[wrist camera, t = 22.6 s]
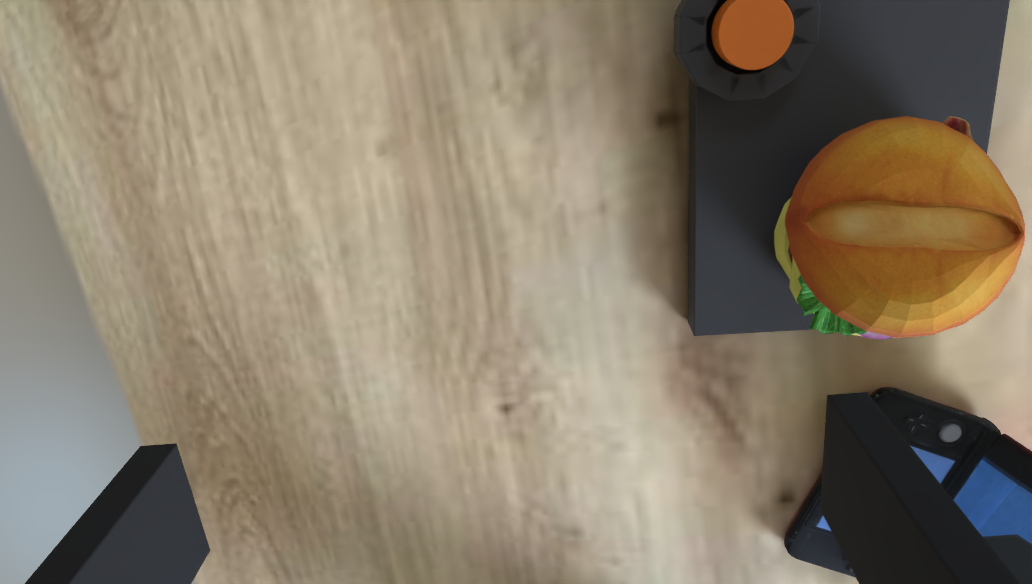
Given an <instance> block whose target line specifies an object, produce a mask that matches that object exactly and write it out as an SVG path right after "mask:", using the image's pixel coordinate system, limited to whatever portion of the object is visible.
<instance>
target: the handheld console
mask: <svg viewBox="0 0 1032 584" xmlns="http://www.w3.org/2000/svg"><path fill="white" fill-rule="evenodd" d="M870 396H871V398H872V399H873V400H874V401H875V403H876V404H877V405H878V406H879V408H880V409H881V410H882V411H883V413H884V414H885V415H886V416H887V418H888V419H889V420H890V421H891V423H892V424H893V425H894V426H895V428H896V429H897V430H898V431H899V433H900V434H901V435H902V436H903V438H904V439H905V440H906V441H907V443H908V444H909V445H910V446H911V448H912V449H913V450H914V451H915V453H916V454H917V455H918V456H919V458H920V459H921V460H922V461H923V463H924V464H925V465H926V466H927V468H928V469H929V470H930V471H931V473H932V474H933V475H934V476H935V478H936V479H937V480H938V481H939V483H940V484H941V485H942V486H943V488H944V489H945V490H946V491H947V493H948V494H949V495H950V496H951V498H952V499H953V500H954V501H955V503H956V504H957V505H958V506H959V508H960V509H961V510H962V511H963V513H964V514H965V515H966V516H967V518H968V519H969V520H970V522H971V523H972V524H973V525H974V527H975V528H976V529H977V530H978V532H979V533H980V534H981V535H982V537H983V536H999V535H1015V534H1017V535H1019V536H1020V537H1022V538H1023V539H1025V540H1026V541H1028V542H1030V543H1031V544H1032V451H1030V450H1029V449H1027V448H1026V447H1024V446H1023V445H1021V444H1020V443H1018V442H1017V441H1015V440H1014V439H1012V438H1011V437H1009V436H1008V435H1006V434H1002V435H1001V433H1000V430H999V429H998V428H997V427H996V426H995V425H994V424H993V423H992V422H991V421H989V420H987V419H986V418H980V417H978V416H975V415H973V414H970V413H967V412H964V411H961V410H958V409H955V408H952V407H949V406H946V405H943V404H940V403H937V402H934V401H931V400H928V399H926V398H923V397H920V396H917V395H914V394H911V393H908V392H905V391H902V390H899V389H896V388H891V387H884V388H879V389H877V390H876V391H874V392H873V393H872V394H871V395H870ZM821 489H822V474H821V476H820V478H819V479H818V481H817V483H816V484H815V486H814V488H813V489H812V491H811V493H810V494H809V496H808V498H807V499H806V501H805V503H804V505H803V506H802V508H801V510H800V511H799V513H798V515H797V516H796V518H795V520H794V521H793V523H792V525H791V527H790V528H789V530H788V531H787V533H786V536H785V539H784V544H785V547H786V549H787V551H788V553H789V554H790V555H791V556H792V557H794V558H796V559H799V560H802V561H805V562H808V563H812V564H815V565H818V566H821V567H824V568H828V569H831V570H834V571H837V572H840V573H843V574H847V575H850V576H853V577H856V576H855V574H854V572H853V571H852V569H851V567H850V565H849V563H848V561H847V559H846V557H845V556H844V554H843V552H842V550H841V548H840V546H839V544H838V542H837V541H836V539H835V537H834V535H833V533H832V531H831V529H830V527H829V526H828V524H827V522H826V520H825V518H824V516H823V514H822V512H821V511H820V506H821Z"/></svg>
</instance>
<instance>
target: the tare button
mask: <svg viewBox="0 0 1032 584" xmlns="http://www.w3.org/2000/svg"><path fill="white" fill-rule="evenodd" d="M793 33H794V20H793V16H792V13H791V10H790V8H789V7H788V5H787V4H786V3H785V2H784V1H783V0H727V1H726V2H725V3H724V4H723V5H722V6H721V7H720V9H719V10H718V12H717V13H716V15H715V17H714V20H713V23H712V29H711V38H712V43H713V46H714V48H715V51H716V52H717V54H718V55H719V56H720V57H721V58H722V59H723V60H724V61H725V62H727V63H728V64H731V65H733V66H736V67H738V68H741V69H745V70H759V69H763V68H766V67H768V66H770V65H772V64H774V63H775V62H776V61H778V60H779V59H780V58H781V57H782V56H783V55H784V53H785V52H786V51H787V49H788V47H789V45H790V43H791V41H792V37H793Z"/></svg>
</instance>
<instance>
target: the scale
mask: <svg viewBox="0 0 1032 584" xmlns="http://www.w3.org/2000/svg"><path fill="white" fill-rule="evenodd" d="M726 1H727V0H682V1H681V3H680V5H679V7H678V9H677V11H676V12H675V16H674V51H675V55H676V56H677V58H678V60H679V61H680V63H681V65H682V67H683V68H684V70H685V72H686V73H687V75H688V77H689V197H688V323H689V325H690V328H691V330H692V332H693V334H694V336H700V335H718V334H736V333H754V332H772V331H790V330H808V329H811V328H809V327H810V324H811V321H812V319H813V316H814V313H811V314H808V315H804V316H803V315H802V314H803V313H804V311H803V309H802V308H801V306H800V305H799V304H798V303H797V302H796V300H795V298H794V296H793V294H792V292H791V290H790V288H789V285H790V279H789V278H788V276H787V274H786V273H785V271H784V269H783V268H782V266H781V265H780V263H779V261H778V260H777V258H776V252H775V245H774V230H775V227H776V225H777V222H778V219H779V216H780V214H781V212H782V209H783V207H784V204H785V203H786V202H787V201H788V200H789V199H790V198H791V197H792V194H793V191H794V188H795V186H796V185H797V183H798V181H799V179H800V178H801V176H802V174H803V172H804V171H805V169H806V167H807V165H808V164H809V162H810V161H811V160H812V159H813V158H814V157H815V156H816V155H817V154H818V153H819V152H820V151H821V150H822V149H823V148H824V147H825V146H826V145H828V144H829V143H830V142H832V141H833V140H834V139H836V138H837V137H838V136H840V135H841V134H843V133H845V132H847V131H850V130H852V129H855V128H857V127H859V126H862V125H864V124H866V123H869V122H871V121H874V120H881V119H888V118H895V117H901V116H909V117H915V118H921V119H927V120H933V121H938V122H941V123H943V122H944V121H945V120H946V119H947V118H948V117H950V116H953V117H958V118H961V119H964V120H966V121H967V123H968V124H969V126H970V132H971V136H972V138H973V141H974V142H975V143H976V144H977V145H978V146H979V147H980V148H981V149H983V150H984V151H985V153H986V154H987V150H988V143H989V136H990V129H991V123H992V116H993V109H994V102H995V96H996V89H997V82H998V75H999V69H1000V62H1001V55H1002V48H1003V42H1004V35H1005V28H1006V21H1007V15H1008V8H1009V1H1010V0H783V1H784V2H785V3H786V4H787V5H788V7H789V8H790V10H791V13H792V16H793V20H794V33H793V37H792V41H791V43H790V45H789V47H788V49H787V51H786V52H785V53H784V55H783V56H782V57H781V58H780V59H779V60H778V61H776V62H775V63H774V64H772V65H770V66H768V67H766V68H763V69H759V70H745V69H741V68H738V67H736V66H733V65H731V64H728V63H727V62H725V61H724V60H723V59H722V58H721V57H720V56H719V55H718V54H717V52H716V51H715V48H714V46H713V43H712V38H711V29H712V23H713V20H714V17H715V15H716V13H717V12H718V10H719V9H720V7H721V6H722V5H723V4H724V3H725V2H726Z"/></svg>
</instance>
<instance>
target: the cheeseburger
mask: <svg viewBox="0 0 1032 584" xmlns="http://www.w3.org/2000/svg"><path fill="white" fill-rule="evenodd" d="M1024 240H1025V224H1024V219H1023V215H1022V212H1021V210H1020V207H1019V205H1018V202H1017V199H1016V197H1015V196H1014V194H1013V193H1012V191H1011V189H1010V188H1009V186H1008V185H1007V183H1006V182H1005V180H1004V178H1003V176H1002V174H1001V172H1000V171H999V169H998V168H997V167H996V165H995V164H994V163H993V162H992V160H991V159H990V158H989V156H988V155H987V154H986V153H985V151H984V150H983V149H981V148H980V147H979V146H978V145H977V144H976V143H975V142H974V141H973V138H972V136H971V132H970V126H969V124H968V123H967V121H966V120H964V119H961V118H958V117H953V116H950V117H948V118H947V119H946V120H945V121H944V122H943V123H941V122H938V121H933V120H927V119H921V118H915V117H909V116H901V117H895V118H888V119H881V120H874V121H871V122H869V123H866V124H864V125H862V126H859V127H857V128H855V129H852V130H850V131H847V132H845V133H843V134H841V135H840V136H838V137H837V138H836V139H834V140H833V141H832V142H830V143H829V144H828V145H826V146H825V147H824V148H823V149H822V150H821V151H820V152H819V153H818V154H817V155H816V156H815V157H814V158H813V159H812V160H811V161H810V162H809V164H808V165H807V167H806V169H805V171H804V172H803V174H802V176H801V178H800V179H799V181H798V183H797V185H796V186H795V188H794V191H793V194H792V197H791V198H790V199H789V200H788V201H787V202H786V203H785V204H784V207H783V209H782V212H781V214H780V216H779V219H778V222H777V225H776V227H775V230H774V245H775V252H776V258H777V260H778V261H779V263H780V265H781V266H782V268H783V269H784V271H785V273H786V274H787V276H788V278H789V279H790V285H789V288H790V290H791V292H792V294H793V296H794V298H795V300H796V302H797V303H798V304H799V305H800V306H801V308H802V309H803V311H804V313H803V314H802V315H803V316H804V315H808V314H811V313H814V316H813V319H812V321H811V324H810V327H809V328H811V329H817V330H818V331H820V332H821V333H823V334H828V333H837V332H840V333H842V334H844V335H846V336H849V335H851V334H852V335H858V336H862V337H865V338H874V339H882V340H883V339H888V338H893V337H895V338H902V337H914V336H926V335H933V334H936V333H939V332H941V331H944V330H947V329H950V328H953V327H956V326H959V325H962V324H964V323H966V322H967V321H969V320H970V319H972V318H973V317H975V316H976V315H978V314H979V313H981V312H982V311H984V310H985V309H986V308H987V307H988V306H989V305H990V304H991V303H992V302H993V301H994V300H995V299H996V298H997V297H998V296H999V295H1000V293H1001V292H1002V290H1003V289H1004V287H1005V285H1006V284H1007V282H1008V281H1009V279H1010V278H1011V276H1012V275H1013V273H1014V271H1015V269H1016V266H1017V263H1018V260H1019V257H1020V255H1021V252H1022V249H1023V245H1024Z"/></svg>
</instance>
